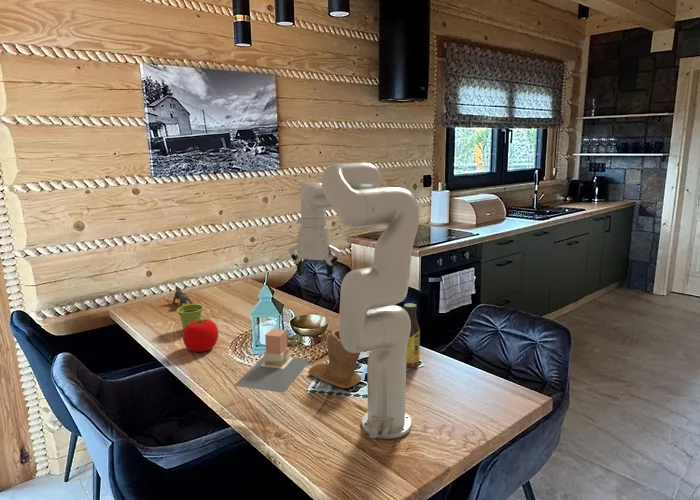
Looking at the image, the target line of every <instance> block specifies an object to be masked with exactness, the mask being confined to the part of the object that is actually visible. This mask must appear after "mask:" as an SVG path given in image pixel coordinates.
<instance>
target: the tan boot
mask: <svg viewBox="0 0 700 500" xmlns="http://www.w3.org/2000/svg"><path fill="white" fill-rule="evenodd" d="M326 345H327V356H328V362H320V363H317V364H314V365H313V366H312V367H310V368H309V370H308V372H307V374H309V375H310V376H312V377H315V378H316V379H318V380H321V381H323V382H325V383H327V384H329V385H332V386H335V387H336V388H337V387H338V388H340V389H349V388H352V387H354V386H356V385H358V384H359V383H360V381H361V380H362V376H361V375H360V374H359V373H357V372H356V365H357V362H358V360H359V358H360V354H361V352H359V353H351V352H348V351H347V350H345V349H344V347H343V346H342V343H341V340H340V335H339V329H335V330H332V331H331V332H330V333H329V335H328V337H327V343H326Z"/></svg>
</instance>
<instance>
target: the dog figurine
mask: <svg viewBox="0 0 700 500" xmlns="http://www.w3.org/2000/svg"><path fill="white" fill-rule="evenodd" d="M172 300H173V301H172V305H175V304H176V303H175V302H176V300H179V306H178V308H179V307H181V306H183V304H184V303H185V304H187V303H188V302H189V304H194V303H193V302H192V300H191V299H190V298H189V296H188V294H187V293H185V292H183V290H182V289H181V288H179V287H177V286H175V292H174V297H173V299H172Z"/></svg>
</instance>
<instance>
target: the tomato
mask: <svg viewBox="0 0 700 500" xmlns="http://www.w3.org/2000/svg"><path fill="white" fill-rule="evenodd" d="M218 339H219V328H218V326H217V325H216V323H215V322H214V321H213V320H211V319H207V318H206V319H205V318H201V320H196V321H193V322H191V323H190V324H188V325H187V326H186V327H185V329H183V333H182V340H183V344H184V345H185V347H186V348H187V349H188V350H190V351H192V352H195V353H196V352H197V353H200V352H201V353H202V352H206V351H210V350H211V349H212V348H214V347H215V346H216V344H217V343H218Z"/></svg>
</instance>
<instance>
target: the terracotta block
mask: <svg viewBox="0 0 700 500" xmlns="http://www.w3.org/2000/svg"><path fill="white" fill-rule="evenodd" d="M287 336H288V335H287V330H284V329H276V328H275V329H274V328H271V329H270V330H269V331H268V332H267V333H266V334H265V335H264V339H265V340H264V341H265V352H266V353H273V354H282V353H283V352H284V351H285V350H286V349H287V347H288V340H287Z"/></svg>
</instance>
